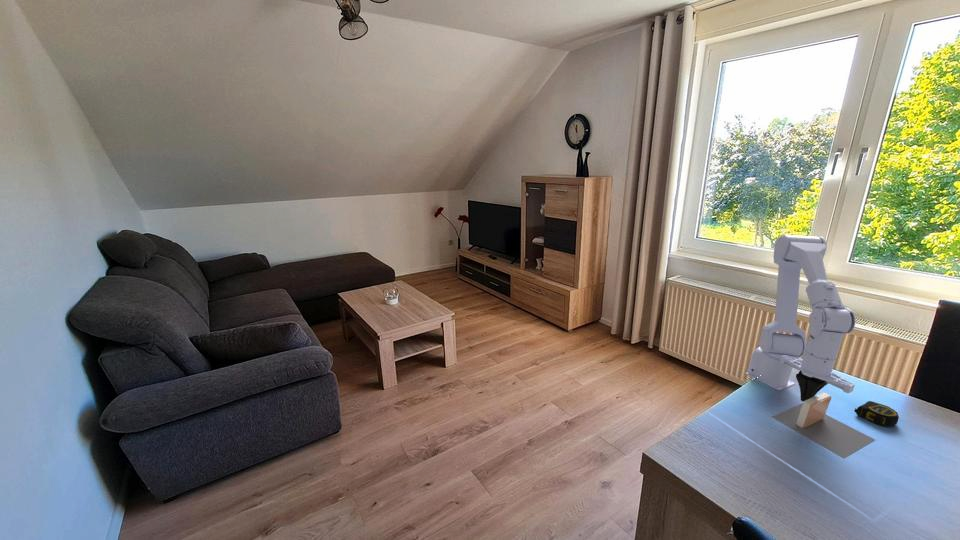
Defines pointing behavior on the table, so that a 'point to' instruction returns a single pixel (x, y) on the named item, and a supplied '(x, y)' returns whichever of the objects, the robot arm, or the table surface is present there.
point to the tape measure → (878, 414)
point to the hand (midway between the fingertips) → (805, 400)
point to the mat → (827, 432)
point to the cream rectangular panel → (813, 410)
